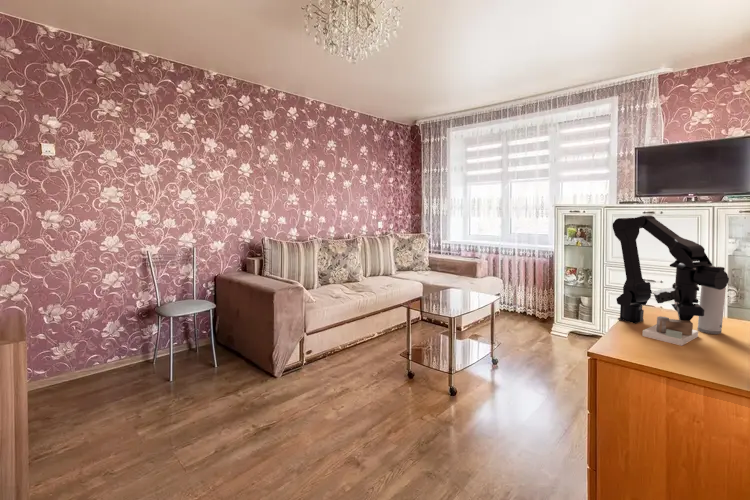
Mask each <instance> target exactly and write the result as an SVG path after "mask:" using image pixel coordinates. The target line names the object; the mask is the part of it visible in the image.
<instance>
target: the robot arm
mask: <svg viewBox="0 0 750 500" xmlns="http://www.w3.org/2000/svg"><path fill="white" fill-rule="evenodd" d="M640 229H644V230H645V231H646V232H647V233H649V234H650V235H651V236H653V237H654V239H657V240H659V242H661V243H662V244H663V245H664V246H666V248H668V251H669V254H670V255H671V256H672V257H673V258H674V259H675V261H674V262H672V263H670V264H669V267H671V268H675V269H676V271H675V282H674V283H672V285H671V287H668V288H667V287H666V288H662V289H658V290H657V289H656V290H653V291H652V289H651V285H652V284H651V282H646V281H645V280H644V279H643V274H642V268H641V262H640V257H639V250H638V245H637V238H638V236H639V234H640ZM612 231H613V234H614V236H615V237H616V238H617V239H618V242H619V241H620V246H621V253H622V259H623V265H624V271H625V279H626V280H625V282H624V284H623V287H622V291H623V292H622V294H620V295H619V296H617V297H616V304H617V305H619V306H620V307H619V308H620V311H619V317H618V318H617V320H618V321H622V322H628V323H631V324H639V323H641V322H644V320H645V319H644V311H645V310H644V309H643V306H646V305H647V304H648V301H649V300H650V299H651V298H652V294H653V296H654V298H655V299H654V300H655V301H656V303H657V304H663V303H665V302H670V301H671V302H672V301H674V303H671V307H672V308H673V309H674V310H675V311H676V312H677V317H678V320H687V321H691V320H692V319H693V318H694V317H699V316H704V309H703V308H702V307H701V306H700V303H699V300H698V298H697V296H698V291H700V287H701V286H705V287H709V288H714V289H718V290H722V289H724V288H726V287H727V285H728V284H729V280H730V278H729V275H728V273H727V272H726V271H725V267H723V266H715V265H713V263H712V261H711V260H710V259H709V257H708V255H707V254H706V252H705V247H704V246H703V245H702V244H699V243H697V242H695V241H693V240H690V239H687V238H683V237H681V236H680V235H679V234H678V233H676V232H674V231H673V230H671V229H670V228H668V226H666V225H664V224H663V223H662V222H661V221H659V220H658V219H656V217H655V216H653V215H650V214H649V215H640V216H636V217H619V218H616V219H615V220H614V221H613V222H612ZM699 286H700V287H699ZM698 303H699V304H698ZM620 319H621V320H620Z"/></svg>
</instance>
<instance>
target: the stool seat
mask: <svg viewBox="0 0 750 500" xmlns="http://www.w3.org/2000/svg"><path fill="white" fill-rule="evenodd" d="M656 327H657V323H656V324H654V325H652V326H650V327H647V328H645V329H643V330H642V335H641V336H642V337H645V338H649V339H654V340H657V341H661V342H665V343H669V344H674V345H677V346H684V345H686V344H687V343H689V342H691V341H693V340H695V339H696V338H698V337H699V330H698V329H697V330H696V329H693V328H692V336H691V335H682V332H679V331H674V330H670V329H666V333H662V332H658V331H656Z"/></svg>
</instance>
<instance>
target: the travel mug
mask: <svg viewBox="0 0 750 500" xmlns="http://www.w3.org/2000/svg"><path fill="white" fill-rule="evenodd" d="M725 296H726V287H725V288H724V289H722V290H718V289H714V288H709V287H705V286H700V295H699V297H700V298H699V305H700V306H701V307H702V308H703V309H704V316H698V318H697V320H698V321H697V331H698V332H701V333H704V334H708V335H720V334H722V331H723V330H722V329H723V322H724V321H723V319H724V310H725V298H726V297H725Z"/></svg>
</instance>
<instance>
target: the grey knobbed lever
mask: <svg viewBox="0 0 750 500" xmlns="http://www.w3.org/2000/svg"><path fill="white" fill-rule="evenodd" d="M656 324H657V327H656V331H658V332H662V333H666V329H670V330H674V331H679V332H682V335H691V336H692V329H693V326H694V324H693V322H692V321H691V320H690V321H687V320H679V319H674V318H669V317H667V316H661V315H660V316H657V317H656Z"/></svg>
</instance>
